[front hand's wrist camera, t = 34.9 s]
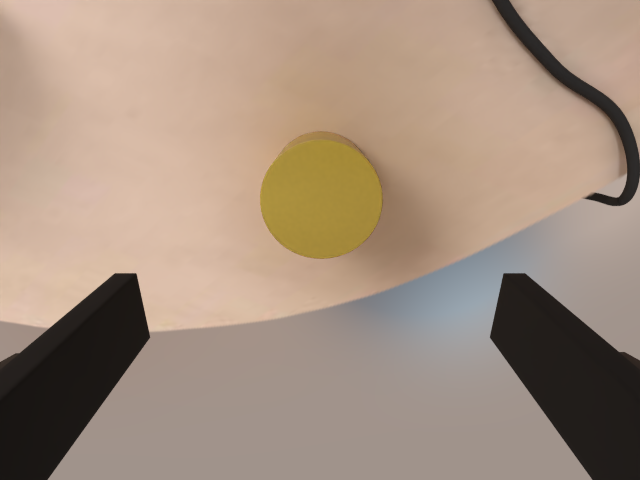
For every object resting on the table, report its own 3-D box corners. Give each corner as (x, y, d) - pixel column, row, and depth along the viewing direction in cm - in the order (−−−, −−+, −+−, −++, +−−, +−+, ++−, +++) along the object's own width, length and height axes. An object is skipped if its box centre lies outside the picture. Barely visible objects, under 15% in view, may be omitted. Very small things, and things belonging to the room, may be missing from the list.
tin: (383, 206, 33) (399, 233, 26) (297, 241, 34) (291, 275, 28) (348, 114, 30) (356, 117, 23) (255, 156, 31) (238, 171, 25)
